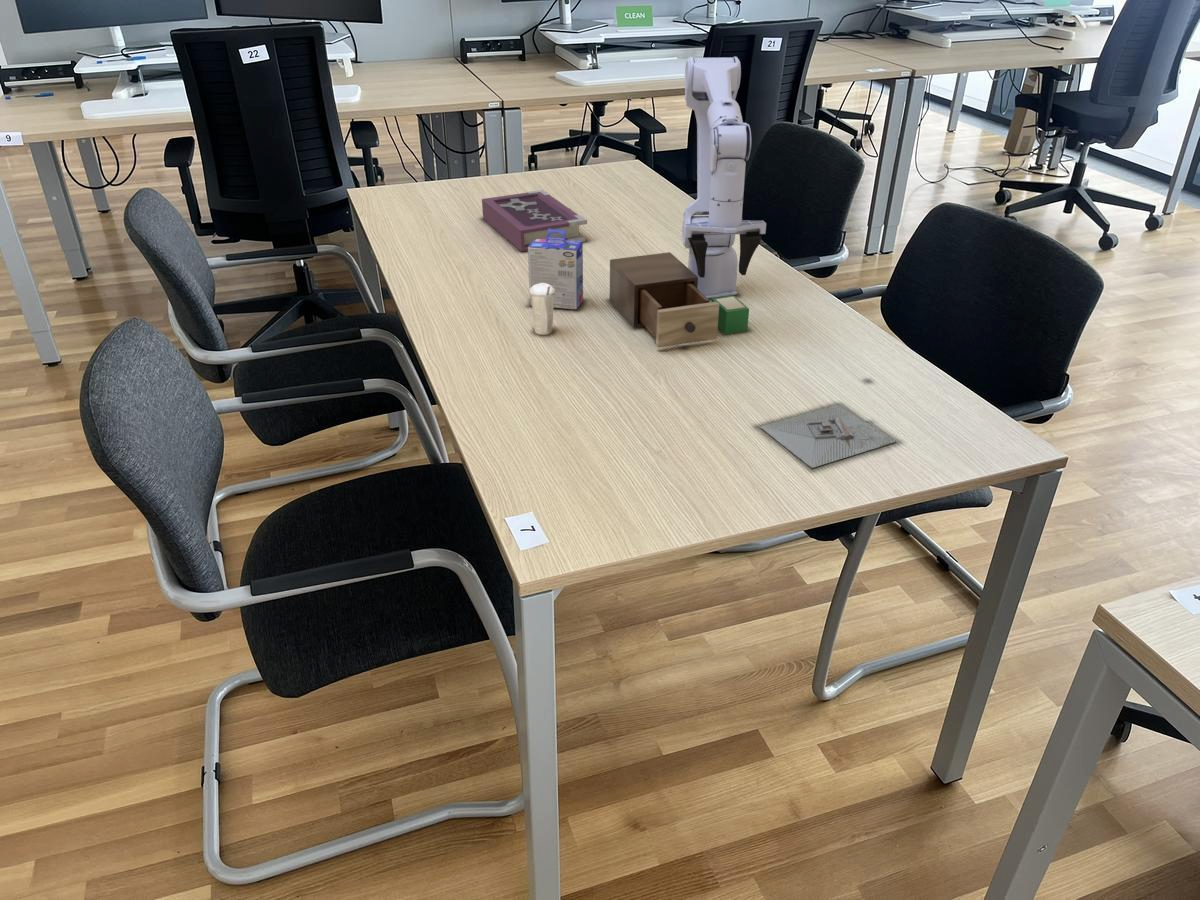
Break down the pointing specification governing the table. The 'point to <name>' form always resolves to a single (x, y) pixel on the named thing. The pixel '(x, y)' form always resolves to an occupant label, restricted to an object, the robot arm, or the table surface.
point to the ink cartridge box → (558, 268)
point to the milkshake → (542, 307)
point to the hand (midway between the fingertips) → (721, 274)
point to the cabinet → (643, 280)
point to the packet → (732, 315)
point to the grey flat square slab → (826, 435)
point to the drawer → (677, 314)
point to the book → (531, 218)
